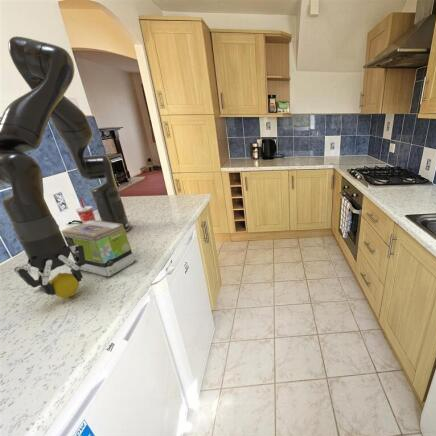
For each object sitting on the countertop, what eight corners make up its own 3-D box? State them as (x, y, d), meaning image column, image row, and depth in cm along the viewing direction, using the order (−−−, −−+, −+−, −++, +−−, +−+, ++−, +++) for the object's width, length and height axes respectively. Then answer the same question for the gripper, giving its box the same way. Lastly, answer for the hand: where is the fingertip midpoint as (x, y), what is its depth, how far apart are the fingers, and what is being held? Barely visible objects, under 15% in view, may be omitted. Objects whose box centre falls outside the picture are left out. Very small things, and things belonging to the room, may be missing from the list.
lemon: (67, 291, 72) (56, 268, 68) (87, 289, 72) (77, 267, 69) (52, 304, 67) (39, 280, 63) (73, 302, 67) (62, 279, 64)
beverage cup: (79, 227, 113) (68, 199, 108) (93, 222, 119) (83, 195, 113) (87, 229, 111) (76, 200, 106) (101, 224, 116) (91, 196, 111)
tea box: (136, 261, 86) (124, 223, 80) (108, 278, 77) (92, 236, 71) (106, 254, 90) (92, 218, 84) (77, 269, 82) (59, 230, 76)
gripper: (65, 220, 69) (87, 270, 75) (-8, 243, 57) (25, 300, 63) (80, 224, 66) (101, 276, 72) (6, 249, 54) (39, 308, 60)
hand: (65, 287), depth 68 cm, fingers closed on lemon, 5 cm apart
